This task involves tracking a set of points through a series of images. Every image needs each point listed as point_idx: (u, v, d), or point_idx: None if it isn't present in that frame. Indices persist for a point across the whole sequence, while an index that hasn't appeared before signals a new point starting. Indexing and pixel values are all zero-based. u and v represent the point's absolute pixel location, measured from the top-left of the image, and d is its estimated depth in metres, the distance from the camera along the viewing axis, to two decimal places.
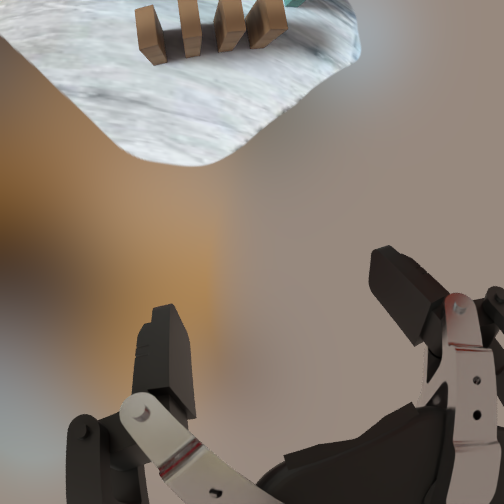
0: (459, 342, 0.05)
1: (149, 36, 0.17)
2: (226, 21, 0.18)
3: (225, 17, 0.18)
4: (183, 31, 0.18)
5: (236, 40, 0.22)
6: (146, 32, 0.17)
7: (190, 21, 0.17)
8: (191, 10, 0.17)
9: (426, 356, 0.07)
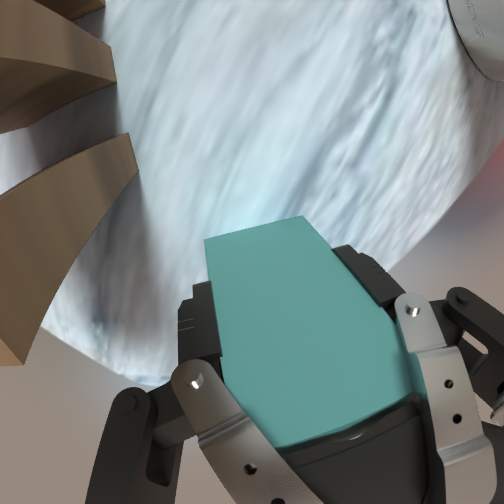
0: (420, 346, 0.06)
1: None
2: None
3: None
4: None
5: None
6: None
7: None
8: None
9: None
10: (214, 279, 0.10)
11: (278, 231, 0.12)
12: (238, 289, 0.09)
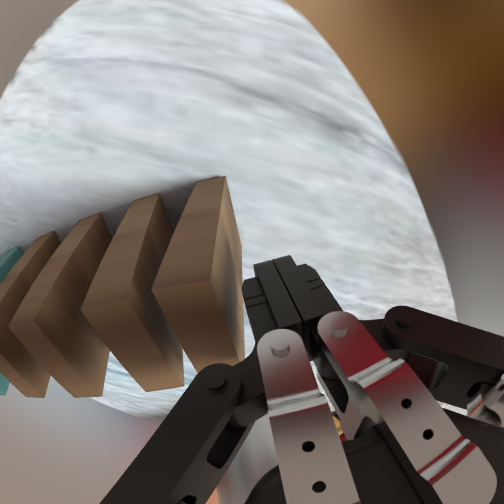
0: (360, 369, 0.06)
1: (185, 315, 0.08)
2: (52, 343, 0.08)
3: (60, 351, 0.08)
4: (134, 319, 0.08)
5: (47, 267, 0.10)
6: (198, 327, 0.08)
7: (128, 345, 0.08)
8: (139, 367, 0.09)
9: (324, 385, 0.07)
10: None
11: None
12: None
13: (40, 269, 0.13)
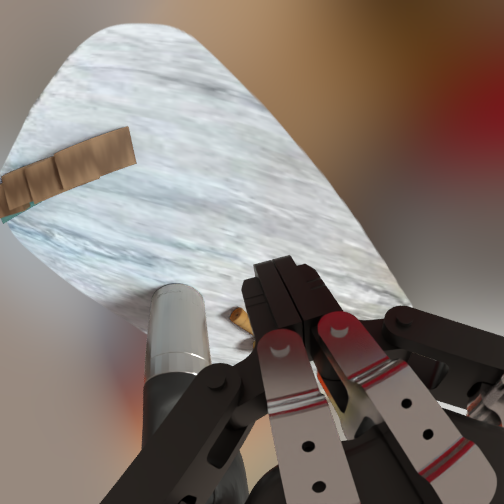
0: (360, 369, 0.06)
1: None
2: (3, 185, 0.23)
3: (4, 188, 0.23)
4: (26, 175, 0.24)
5: (27, 165, 0.25)
6: None
7: None
8: None
9: (324, 385, 0.07)
10: None
11: None
12: None
13: (3, 190, 0.25)
